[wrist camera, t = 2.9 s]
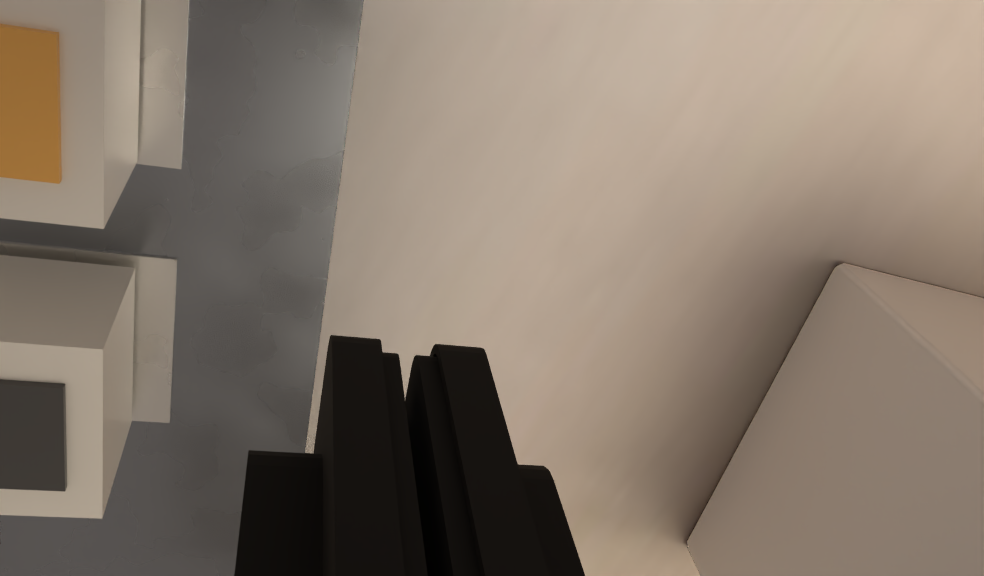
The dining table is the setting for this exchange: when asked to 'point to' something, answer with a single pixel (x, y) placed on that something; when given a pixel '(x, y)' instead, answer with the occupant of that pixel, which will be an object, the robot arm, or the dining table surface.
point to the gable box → (861, 443)
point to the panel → (209, 276)
